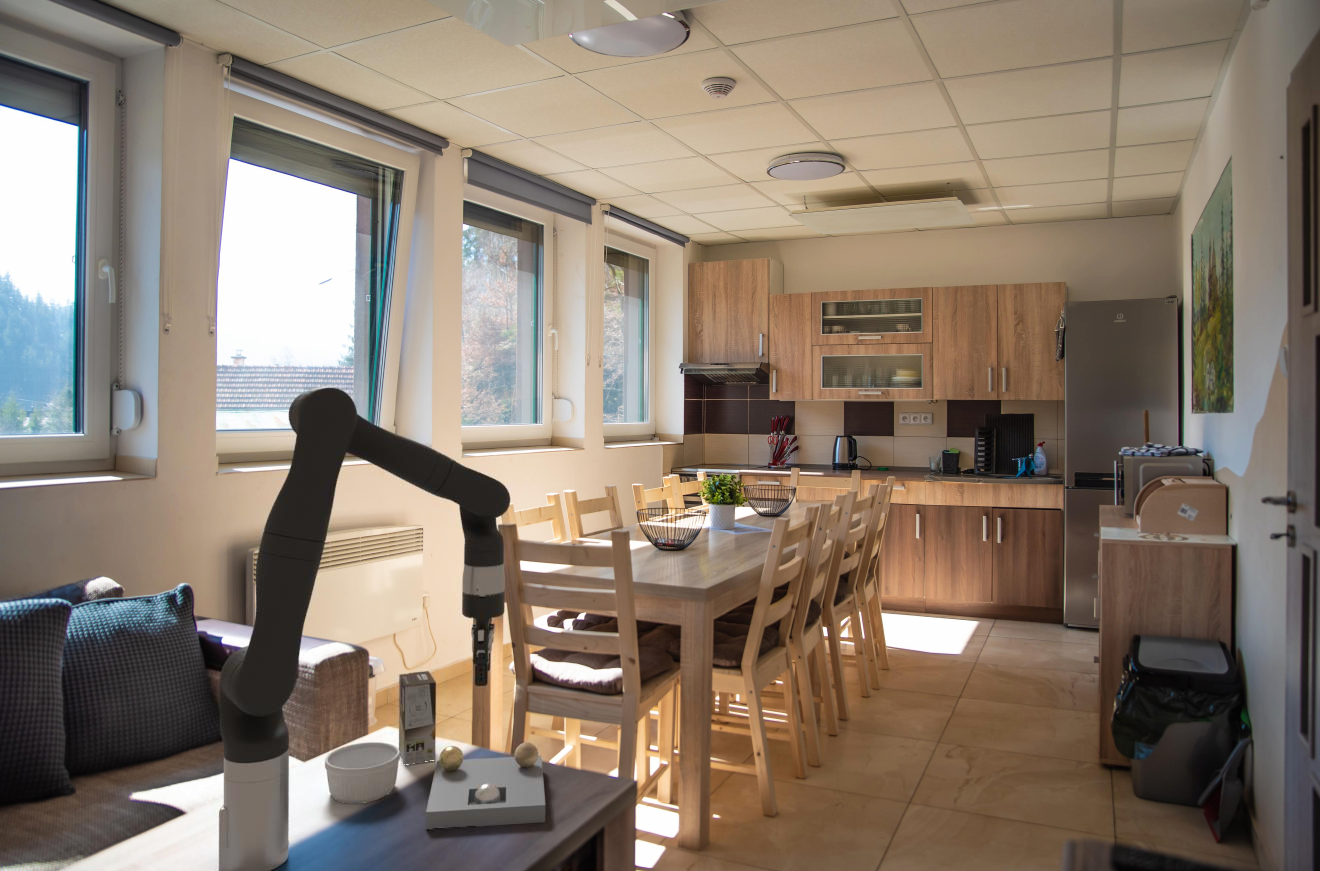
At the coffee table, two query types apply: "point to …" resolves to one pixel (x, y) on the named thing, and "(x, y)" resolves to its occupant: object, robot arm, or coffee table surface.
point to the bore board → (458, 807)
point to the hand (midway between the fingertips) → (482, 678)
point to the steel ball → (487, 794)
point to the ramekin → (362, 771)
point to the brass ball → (451, 758)
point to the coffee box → (417, 717)
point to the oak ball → (526, 754)
